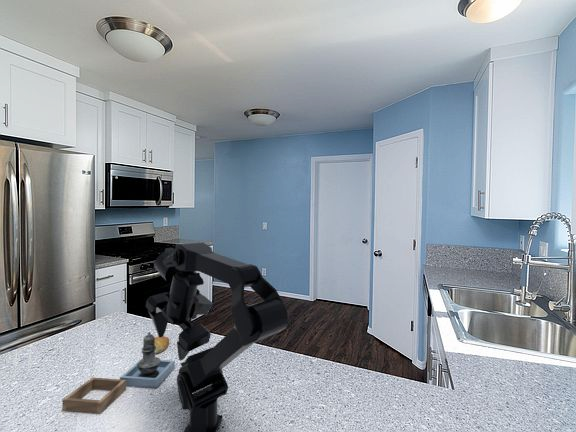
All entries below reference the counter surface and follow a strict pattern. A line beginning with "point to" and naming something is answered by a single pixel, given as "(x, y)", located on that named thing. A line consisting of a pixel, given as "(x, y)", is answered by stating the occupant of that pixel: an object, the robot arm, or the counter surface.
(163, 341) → the pastry
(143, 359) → the grey stone chess piece
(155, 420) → the counter surface
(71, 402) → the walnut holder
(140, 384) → the slate tray
